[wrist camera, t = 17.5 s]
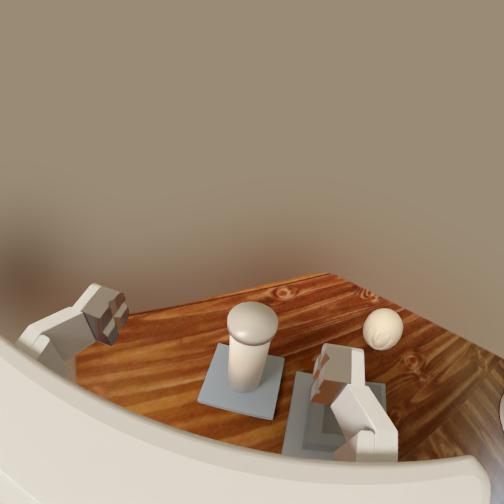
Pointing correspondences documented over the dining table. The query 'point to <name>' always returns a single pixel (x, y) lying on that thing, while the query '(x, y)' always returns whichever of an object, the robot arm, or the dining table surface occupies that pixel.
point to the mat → (244, 403)
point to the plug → (249, 344)
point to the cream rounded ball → (382, 329)
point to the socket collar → (316, 422)
